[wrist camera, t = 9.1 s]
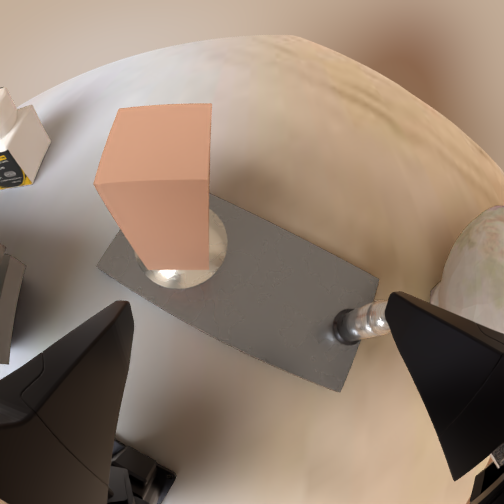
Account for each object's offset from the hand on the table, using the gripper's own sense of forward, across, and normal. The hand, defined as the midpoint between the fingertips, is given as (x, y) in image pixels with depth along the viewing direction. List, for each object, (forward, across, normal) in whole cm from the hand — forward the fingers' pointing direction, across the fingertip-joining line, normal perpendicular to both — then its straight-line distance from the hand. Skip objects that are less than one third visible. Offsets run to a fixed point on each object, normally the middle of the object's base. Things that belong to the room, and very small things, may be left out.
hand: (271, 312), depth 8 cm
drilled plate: (+13, -1, +6) cm, 15 cm away
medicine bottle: (+24, +27, -4) cm, 36 cm away
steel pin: (+9, -10, +9) cm, 16 cm away
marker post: (+14, +5, +3) cm, 15 cm away
